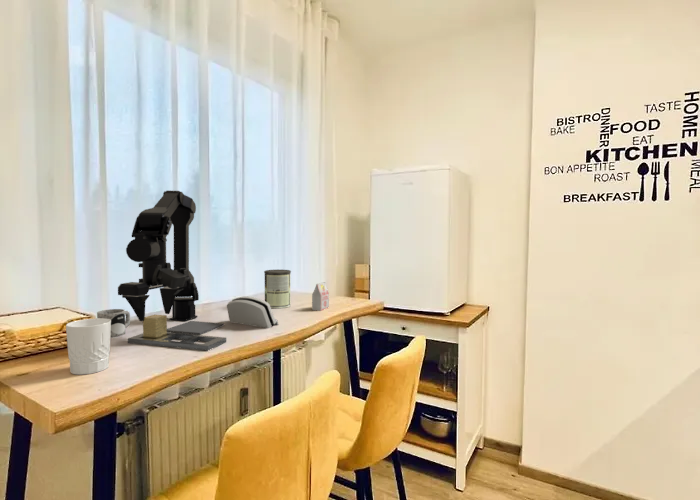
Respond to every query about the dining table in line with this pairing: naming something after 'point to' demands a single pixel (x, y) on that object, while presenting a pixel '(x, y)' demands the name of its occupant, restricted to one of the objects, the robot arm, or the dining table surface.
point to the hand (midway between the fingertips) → (155, 317)
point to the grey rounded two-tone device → (251, 312)
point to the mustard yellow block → (155, 326)
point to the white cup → (88, 345)
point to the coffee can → (277, 288)
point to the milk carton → (320, 297)
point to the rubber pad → (194, 327)
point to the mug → (116, 320)
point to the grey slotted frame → (185, 343)
